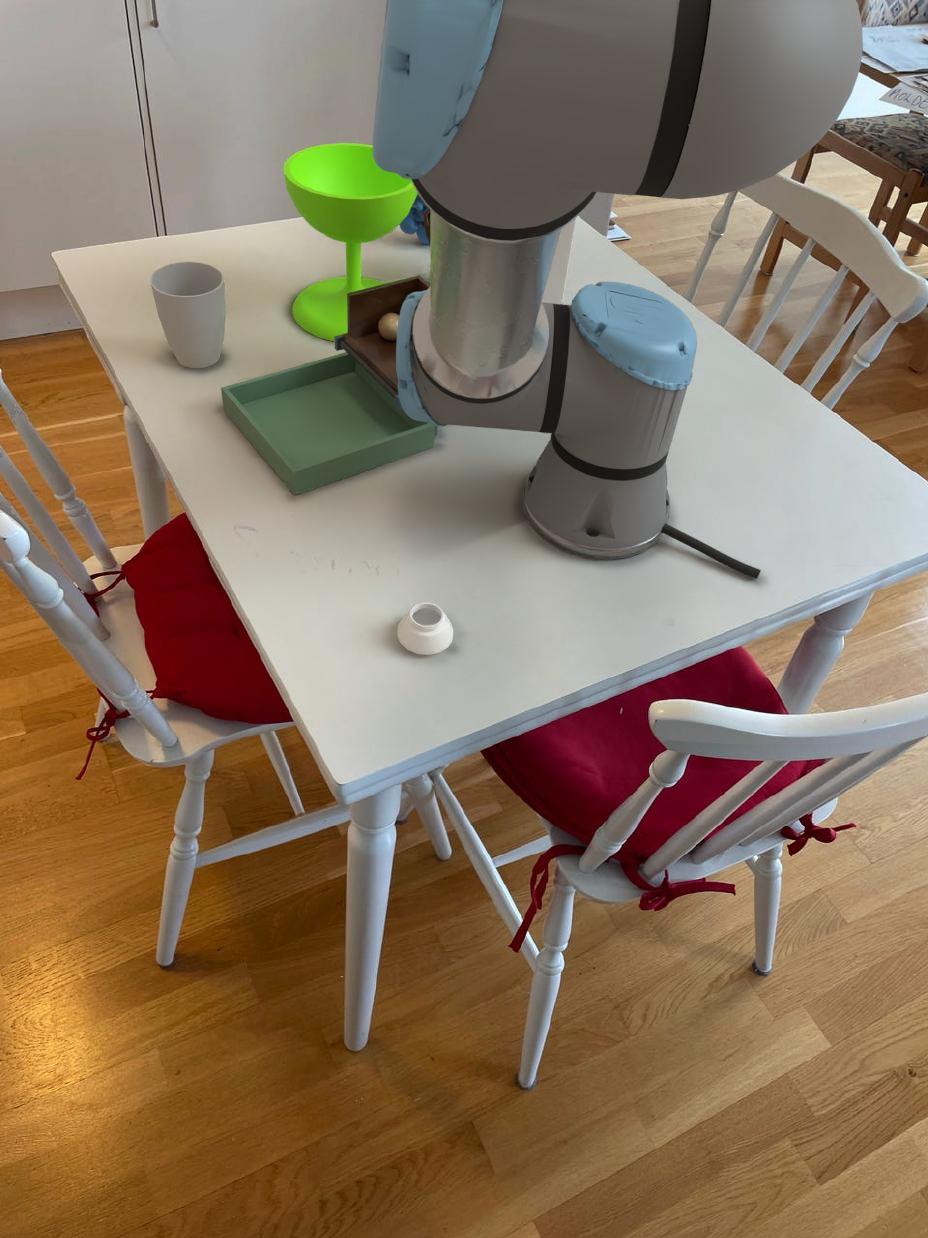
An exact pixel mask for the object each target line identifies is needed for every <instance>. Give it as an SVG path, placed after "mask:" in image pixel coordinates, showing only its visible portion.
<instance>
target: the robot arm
mask: <svg viewBox="0 0 928 1238" xmlns="http://www.w3.org/2000/svg"><path fill="white" fill-rule="evenodd" d="M385 1H386V4H385V14H384V24H383V28H382V29H383V30H382V39H381V46H380V47H381V48H380V59H379V65H378V79H377V80H378V81H377V90H376V91H377V92H376V100H375V108H374V121H373V131H372V134H373V135H372V145H373V158H374V161H375V163H376V164H377V165H378V166H379V167H380V168H381V169H382V170H384V171H387V172H392V173H397V174H398V175H399V176H400V177H402V178H404V179H411V181H412V184H413V185H414V187H415V189H416V191H417V193H418V194H419V196H420V197H421V199H422V200H423V201H424V203H425V204H426V205H427V206H428V207H429V208H430V244H429V245H430V248H429V249H430V251H429V252H430V256H429V257H430V259H429V260H430V261H429V263H430V265H429V267H430V272H429V273H430V274H429V276H430V282H429V283H430V287H429V288H428V289H427V290H424V291H421V292H413V293H411V294H409V295H408V296H407V297H406V300H405V301H404V302H403V305H402V308H401V311H400V316H399V322H398V330H397V344H396V371H397V377H398V393H399V399H400V403H401V405H402V408H403V410H404V412H405V413H406V414H407V415H408V416H409V417H410V418H411V419H413V420H416V421H421V422H427V423H432V424H434V425H436V426H437V427H446V426H460V427H473V428H484V429H496V430H498V429H499V430H509V431H521V432H533V433H543V434H550V438H549V441H548V442H547V443H546V445H545V447H544V449H543V450H542V452H541V453H540V455H539V457H538V459H537V461H536V463H535V464H534V466H533V467H532V469H531V470H530V472H529V474H528V476H527V479H526V481H525V484H524V488H523V495H522V501H521V502H522V511H523V514H524V518H525V520H526V521H527V522H528V525H530V527H531V528H532V529H533V530H534V532H536V534H537V535H539V536H540V537H541V538H542V539H543V540H544V541H546V542H548V543H549V544H551V545H552V546H554V547H556V548H558V549H560V550H562V551H565V552H567V553H570V554H573V555H576V556H580V557H583V558H584V557H585V558H588V559H589V558H590V559H599V560H616V559H617V560H618V559H624V558H625V559H626V558H630V557H633V556H636V555H639V554H642V553H644V552H646V551H647V550H649V549H650V548H651V549H652V548H653V547H654V546H655V545H656V544H657V543H658V542H659V541H660V540H661V539H662V537H663V535H666V536H668V537H670V538H672V539H674V540H676V541H678V542H680V543H682V544H684V545H685V546H687V547H690V548H691V549H694V550H696V551H697V552H699V553H702V554H703V555H705V556H707V557H709V558H711V559H712V560H714V561H716V562H718V563H720V564H721V565H724V566H726V567H727V568H730V569H732V570H734V571H736V572H737V573H740V574H743V575H745V576H748V577H750V578H753V579H755V580H757V579H758V578H759V576H760V574H761V572H762V570H761V569H760V568H757V567H754V566H752V565H750V564H746V563H745V562H743V561H740V560H738V559H735V558H734V557H732V556H729V555H727V554H725V553H724V552H722V551H720V550H718V549H716V548H715V547H713V546H710V545H708V544H707V543H705V542H704V541H701V540H700V539H698V538H695V537H693V536H692V535H689V534H687V533H685V532H683V531H682V530H680V529H677V528H676V527H673V526H672V525H669V524H668V521H669V518H670V512H671V499H670V494H669V490H668V471H667V470H668V469H667V460H668V456H669V452H670V448H671V445H672V442H673V439H674V435H675V431H676V428H677V424H678V421H679V417H680V414H681V410H682V407H683V403H684V400H685V396H686V393H687V390H688V387H689V385H690V384H691V383H692V380H693V370H694V366H695V365H694V364H695V358H696V354H697V350H698V349H697V347H698V336H697V331H696V329H695V326H694V324H693V322H692V321H691V320H690V317H688V315H687V314H686V313H685V312H684V311H683V310H682V309H680V307H678V305H676V304H674V303H672V302H671V301H669V299H667V298H666V297H664V296H662V295H660V294H659V293H656V292H654V291H651V290H650V289H647V288H644V287H641V286H638V285H634V284H630V283H625V282H620V281H599V282H596V283H595V284H592V283H589V284H587V285H585V286H584V287H581V288H580V289H579V290H578V291H577V293H576V294H575V296H574V297H573V299H572V300H571V303H570V304H563V303H562V304H553V303H544V302H542V298H543V294H544V291H545V287H546V283H547V280H548V276H549V272H550V269H551V265H552V261H553V258H554V254H555V251H556V247H557V243H558V240H559V236H560V232H561V229H562V228H563V227H565V226H566V225H568V224H569V223H570V222H572V221H573V220H574V219H576V220H577V218H578V217H579V216H580V214H581V213H582V212H583V211H584V210H585V209H586V208H587V207H588V206H589V204H590V203H591V202H592V201H593V199H594V197H595V196H596V194H597V193H603V194H613V195H624V196H640V197H641V196H642V197H652V198H659V199H660V198H662V199H674V200H690V199H702V198H709V197H716V196H722V195H725V194H729V193H733V192H737V191H740V190H744V189H746V188H749V187H751V186H753V185H756V184H757V183H759V182H762V181H765V180H767V179H770V178H772V177H774V176H776V175H778V173H780V172H781V171H783V170H784V169H786V168H787V167H789V166H790V165H792V164H794V163H795V162H797V161H798V160H801V158H803V157H805V155H807V154H808V152H810V151H811V149H813V148H814V147H815V146H816V145H817V144H818V143H819V142H820V141H821V140H822V139H823V138H824V136H825V135H826V134H827V133H828V132H829V130H830V129H831V128H832V127H833V125H834V124H835V123H836V122H837V121H838V119H839V117H840V116H841V114H842V112H843V110H844V108H845V106H846V104H847V103H848V101H849V100H850V98H851V95H852V94H853V91H854V87H855V85H856V83H857V79H858V77H859V73H860V69H861V65H862V57H863V50H864V38H863V37H864V36H863V22H862V18H861V12H860V8H859V7H860V6H859V3H858V2H857V0H385Z"/></svg>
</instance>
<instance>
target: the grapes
mask: <svg viewBox="0 0 928 1238" xmlns="http://www.w3.org/2000/svg"><path fill="white" fill-rule="evenodd" d="M428 209H430V208H429V207H428V206H427V205H426V204H425V203H424V201H423V200H422V199H421V197H420V196H419V194H417V196H416V199H415V201H414V203H413V205H412V207H411V209H410V212H409V214H408V215H407V216H406V218H405V219H404V220H403V221H402V222H401V223H400V224H399V225H398V226H399V228H400V230H401V231H402V232H403V233H404V234H405V235H414V234H416V237H417V240H418V241H419V242H420V243H422V244H425V245H430V243H429V241H428V238H427V236H426V231H425V225H424V219H423V213H424V212H425V211H427V210H428Z"/></svg>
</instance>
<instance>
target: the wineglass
mask: <svg viewBox="0 0 928 1238" xmlns="http://www.w3.org/2000/svg"><path fill="white" fill-rule="evenodd" d="M283 175H284V181H285V185H286V186H285V187H286V190H287V193H288V195H289V197H290V200H291V201H292V203H293V206H294V207H295V209H296V211H297V212H298V214H299V215H300V216H301V217H302V218H303V219H304V220H305V222H306V223H307V224H308V225H309V226H310V227H312V229H314V230H315V231H317V232H319V233H320V234H322V235H324V236H325V237H327V238H329V239H331V240H334V241H337V242H342V243H345V276H338V277H332V278H331V277H330V278H327V279H323V280H319V281H317V282H315V283H312V284H310V285H309V286H307V287H305V288H304V289H303V290H302V291H301V292H300V293H298V295H297V296H296V298H295V300H294V302H293V304H292V317H293V319H294V321H295V322H296V324H297V325H298V326H299V327H301V328H302V329H303V331H305V332H307V333H309V334H311V335H313V336H314V337H317V338H321V339H322V340H323V339H324V340H328V341H330V342H335V340H334V337H335V336H338V335H342V334H345V333H348V325H347V293H350V292H354V291H358V290H362V289H366V288H370V287H374V286H378V285H382V284H386V283H387V282H386V281H382V280H379V279H376V278H368V277H363V276H362V244H364V243H370V242H373V241H376V240H379V239H381V238H382V237H384V236H386V235H388V234H390V233H391V232H393V231H394V230H396V229H397V228H398V227H399V226H400V225H399V224H400V223H401V222H402V221H403V220H404V219H405V218H406V216H407V215H408V214H409V212H410V209H411V207H412V205H413V203H414V201H415V199H416V196H417V194H418V193H417V191H416V189H415V187H414V185H413V184H412V181H411V179H404V178H402V177H400V176H399V175H398V174H397V173H392V172H387V171H384V170H382V169H381V168H380V167H379V166H378V165H377V164H376V163H375V161H374V158H373V144H365V143H355V142H354V143H352V142H349V143H348V142H337V143H324V144H319V145H314V146H310V147H307V148H304V149H302V150H299V151H297V152H295V153H293V154H292V155H290V156H289V157H288V158H287V159H286V161H285V162H284V163H283Z"/></svg>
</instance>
